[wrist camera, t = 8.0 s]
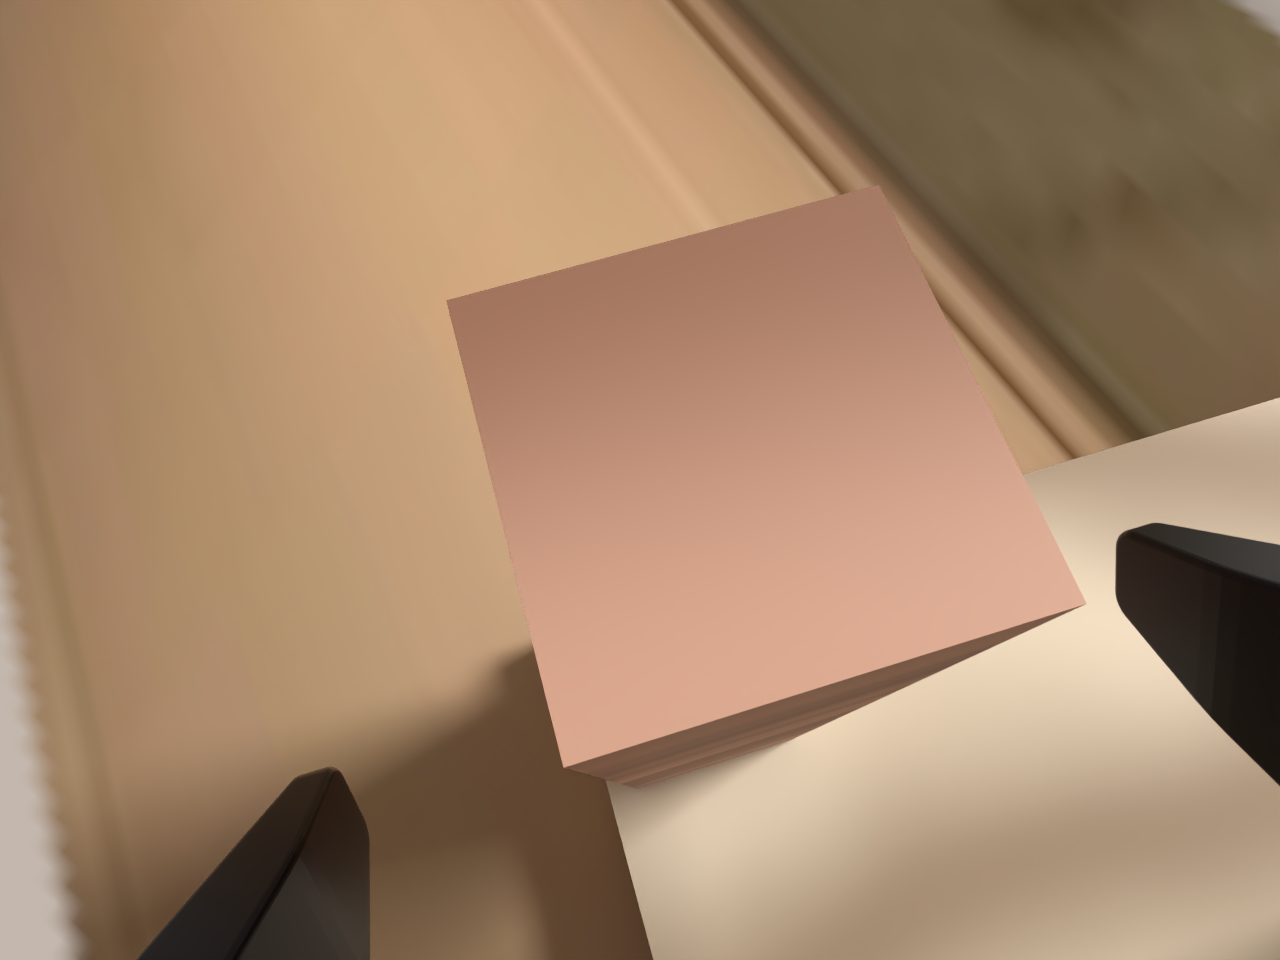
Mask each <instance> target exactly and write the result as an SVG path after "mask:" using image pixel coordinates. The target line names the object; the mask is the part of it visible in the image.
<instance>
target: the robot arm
mask: <svg viewBox="0 0 1280 960" xmlns="http://www.w3.org/2000/svg"><path fill="white" fill-rule="evenodd" d="M1115 595H1116V599H1117V602H1118V605H1119V607H1120V609H1121V611H1122V612H1123V614H1124V615H1125V617H1126V618H1127V619H1128V620H1129V621H1130V623H1131V624H1132V625H1133V626H1134V627H1135V629H1136V630H1137V631H1138V632H1139V633H1140V634H1141V636H1142V637H1143V638H1144V639H1145V640H1146V642H1147V643H1148V644H1149V645H1150V646H1151V648H1152V649H1153V650H1154V651H1155V652H1156V654H1157V655H1158V656H1159V657H1160V658H1161V660H1162V661H1163V662H1164V663H1165V664H1166V666H1167V667H1168V668H1169V669H1170V670H1171V672H1172V673H1173V674H1174V675H1175V676H1176V678H1177V679H1178V680H1179V681H1180V682H1181V684H1182V685H1183V686H1184V687H1185V688H1186V690H1187V691H1188V692H1189V693H1190V694H1191V696H1192V697H1193V698H1194V699H1195V700H1196V702H1197V703H1198V704H1199V705H1200V706H1201V707H1202V708H1203V709H1204V711H1205V712H1206V713H1207V714H1208V715H1209V716H1210V717H1211V718H1212V719H1213V720H1214V721H1215V722H1216V724H1217V725H1218V726H1219V727H1220V728H1221V729H1222V730H1223V731H1224V732H1225V733H1226V734H1227V735H1228V736H1229V737H1230V738H1231V739H1232V740H1233V741H1234V742H1235V743H1236V744H1237V745H1238V746H1239V747H1240V748H1241V749H1242V750H1243V751H1244V752H1245V753H1246V754H1247V755H1248V756H1249V757H1250V758H1251V759H1252V760H1253V761H1254V762H1255V763H1257V764H1258V765H1259V766H1260V767H1261V768H1262V769H1263V770H1264V771H1265V772H1266V773H1267V774H1268V775H1269V776H1270V777H1271V778H1272V779H1273V780H1274V781H1275V782H1276V783H1277V784H1278V785H1279V786H1280V545H1278V544H1273V543H1267V542H1262V541H1256V540H1251V539H1246V538H1240V537H1235V536H1229V535H1224V534H1218V533H1213V532H1207V531H1202V530H1196V529H1191V528H1186V527H1180V526H1175V525H1169V524H1164V523H1150V524H1146V525H1143V526H1140V527H1136V528H1133V529H1130V530H1126V531H1124V532H1123V533H1121V534H1120V535H1119V537H1118V539H1117V541H1116V563H1115ZM137 960H370V862H369V834H368V829H367V825H366V822H365V820H364V817H363V815H362V813H361V811H360V809H359V807H358V805H357V803H356V801H355V799H354V797H353V795H352V793H351V791H350V789H349V787H348V785H347V783H346V781H345V779H344V777H343V775H342V774H341V772H340V771H339V770H338V769H337V768H334V767H326V768H323V769H320V770H316V771H313V772H309V773H306V774H303V775H300V776H298V777H296V778H295V779H294V780H293V781H292V782H291V783H290V784H289V785H288V786H287V787H286V789H285V790H284V791H283V792H282V793H281V794H280V795H279V797H278V798H277V799H276V800H275V801H274V802H273V803H272V805H271V806H270V807H269V808H268V809H267V810H266V812H265V813H264V814H263V815H262V816H261V817H260V818H259V820H258V821H257V822H256V823H255V824H254V825H253V826H252V828H251V829H250V830H249V831H248V832H247V833H246V834H245V836H244V837H243V838H242V839H241V840H240V841H239V842H238V844H237V845H236V846H235V847H234V848H233V849H232V851H231V852H230V853H229V854H228V855H227V856H226V857H225V859H224V860H223V861H222V862H221V863H220V864H219V865H218V867H217V868H216V869H215V870H214V871H213V872H212V873H211V875H210V876H209V877H208V878H207V879H206V880H205V881H204V883H203V884H202V885H201V886H200V887H199V888H198V890H197V891H196V892H195V893H194V894H193V895H192V896H191V898H190V899H189V900H188V901H187V902H186V903H185V904H184V906H183V907H182V908H181V909H180V910H179V911H178V912H177V914H176V915H175V916H174V917H173V918H172V919H171V920H170V922H169V923H168V924H167V925H166V926H165V927H164V929H163V930H162V931H161V932H160V933H159V934H158V935H157V937H156V938H155V939H154V940H153V941H152V942H151V943H150V945H149V946H148V947H147V948H146V949H145V950H144V951H143V953H142V954H141V955H140V956H139V957H138V958H137Z"/></svg>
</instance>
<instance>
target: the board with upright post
mask: <svg viewBox="0 0 1280 960" xmlns="http://www.w3.org/2000/svg"><path fill="white" fill-rule="evenodd" d="M447 305H448V309H449V313H450V317H451V321H452V325H453V329H454V333H455V337H456V341H457V344H458V348H459V352H460V356H461V360H462V364H463V368H464V372H465V376H466V380H467V384H468V388H469V392H470V396H471V400H472V404H473V408H474V412H475V416H476V420H477V424H478V428H479V432H480V436H481V440H482V444H483V448H484V452H485V456H486V460H487V464H488V468H489V472H490V476H491V480H492V484H493V488H494V492H495V496H496V500H497V504H498V508H499V512H500V516H501V520H502V524H503V528H504V532H505V536H506V540H507V544H508V548H509V552H510V556H511V560H512V564H513V568H514V572H515V576H516V580H517V584H518V588H519V592H520V596H521V600H522V604H523V608H524V612H525V616H526V620H527V624H528V628H529V632H530V636H531V640H532V644H533V648H534V652H535V656H536V660H537V664H538V668H539V672H540V676H541V680H542V684H543V688H544V692H545V696H546V700H547V704H548V708H549V712H550V716H551V720H552V724H553V728H554V732H555V736H556V740H557V744H558V748H559V752H560V756H561V760H562V764H563V768H566V769H570V770H573V771H577V772H580V773H584V774H587V775H591V776H594V777H598V778H601V779H605V780H606V784H607V788H608V792H609V795H610V799H611V803H612V807H613V810H614V814H615V818H616V822H617V825H618V829H619V833H620V837H621V840H622V844H623V848H624V852H625V855H626V859H627V863H628V867H629V870H630V874H631V878H632V882H633V886H634V889H635V893H636V897H637V901H638V904H639V908H640V912H641V916H642V919H643V923H644V927H645V931H646V934H647V938H648V942H649V946H650V949H651V953H652V957H653V960H1280V786H1279V785H1278V784H1277V783H1276V782H1275V781H1274V780H1273V779H1272V778H1271V777H1270V776H1269V775H1268V774H1267V773H1266V772H1265V771H1264V770H1263V769H1262V768H1261V767H1260V766H1259V765H1258V764H1257V763H1255V762H1254V761H1253V760H1252V759H1251V758H1250V757H1249V756H1248V755H1247V754H1246V753H1245V752H1244V751H1243V750H1242V749H1241V748H1240V747H1239V746H1238V745H1237V744H1236V743H1235V742H1234V741H1233V740H1232V739H1231V738H1230V737H1229V736H1228V735H1227V734H1226V733H1225V732H1224V731H1223V730H1222V729H1221V728H1220V727H1219V726H1218V725H1217V724H1216V722H1215V721H1214V720H1213V719H1212V718H1211V717H1210V716H1209V715H1208V714H1207V713H1206V712H1205V711H1204V709H1203V708H1202V707H1201V706H1200V705H1199V704H1198V703H1197V702H1196V700H1195V699H1194V698H1193V697H1192V696H1191V694H1190V693H1189V692H1188V691H1187V690H1186V688H1185V687H1184V686H1183V685H1182V684H1181V682H1180V681H1179V680H1178V679H1177V678H1176V676H1175V675H1174V674H1173V673H1172V672H1171V670H1170V669H1169V668H1168V667H1167V666H1166V664H1165V663H1164V662H1163V661H1162V660H1161V658H1160V657H1159V656H1158V655H1157V654H1156V652H1155V651H1154V650H1153V649H1152V648H1151V646H1150V645H1149V644H1148V643H1147V642H1146V640H1145V639H1144V638H1143V637H1142V636H1141V634H1140V633H1139V632H1138V631H1137V630H1136V629H1135V627H1134V626H1133V625H1132V624H1131V623H1130V621H1129V620H1128V619H1127V618H1126V617H1125V615H1124V614H1123V612H1122V611H1121V609H1120V607H1119V605H1118V602H1117V599H1116V595H1115V563H1116V541H1117V539H1118V537H1119V535H1120V534H1121V533H1123V532H1124V531H1126V530H1130V529H1133V528H1136V527H1140V526H1143V525H1146V524H1150V523H1164V524H1169V525H1175V526H1180V527H1186V528H1191V529H1196V530H1202V531H1207V532H1213V533H1218V534H1224V535H1229V536H1235V537H1240V538H1246V539H1251V540H1256V541H1262V542H1267V543H1273V544H1278V545H1280V398H1277V399H1274V400H1270V401H1267V402H1264V403H1260V404H1257V405H1254V406H1250V407H1247V408H1244V409H1240V410H1237V411H1234V412H1230V413H1227V414H1224V415H1220V416H1217V417H1214V418H1210V419H1207V420H1204V421H1200V422H1197V423H1194V424H1190V425H1187V426H1183V427H1180V428H1177V429H1173V430H1170V431H1167V432H1163V433H1160V434H1157V435H1153V436H1150V437H1147V438H1143V439H1140V440H1137V441H1133V442H1130V443H1127V444H1123V445H1120V446H1117V447H1113V448H1110V449H1107V450H1103V451H1100V452H1096V453H1093V454H1090V455H1086V456H1083V457H1080V458H1076V459H1073V460H1070V461H1066V462H1063V463H1060V464H1056V465H1053V466H1050V467H1046V468H1043V469H1040V470H1036V471H1033V472H1030V473H1026V474H1022V472H1021V470H1020V468H1019V466H1018V464H1017V462H1016V460H1015V458H1014V456H1013V454H1012V452H1011V450H1010V448H1009V446H1008V444H1007V442H1006V440H1005V438H1004V436H1003V434H1002V432H1001V430H1000V428H999V426H998V424H997V422H996V420H995V418H994V416H993V414H992V412H991V410H990V408H989V406H988V404H987V402H986V400H985V398H984V396H983V394H982V392H981V390H980V387H979V385H978V383H977V381H976V379H975V377H974V375H973V373H972V371H971V369H970V367H969V365H968V363H967V361H966V359H965V357H964V355H963V353H962V351H961V349H960V347H959V345H958V343H957V341H956V339H955V337H954V335H953V333H952V331H951V329H950V327H949V325H948V323H947V321H946V319H945V317H944V315H943V313H942V311H941V309H940V307H939V305H938V303H937V301H936V299H935V297H934V295H933V293H932V291H931V289H930V287H929V285H928V283H927V281H926V279H925V277H924V275H923V273H922V270H921V268H920V266H919V264H918V262H917V260H916V258H915V256H914V254H913V252H912V250H911V248H910V246H909V244H908V242H907V240H906V238H905V236H904V234H903V232H902V230H901V228H900V226H899V224H898V222H897V220H896V218H895V216H894V214H893V212H892V210H891V208H890V206H889V204H888V202H887V200H886V198H885V196H884V194H883V192H882V190H881V188H880V186H879V185H876V186H872V187H869V188H865V189H861V190H858V191H854V192H850V193H846V194H843V195H839V196H835V197H831V198H828V199H824V200H820V201H816V202H813V203H809V204H805V205H802V206H798V207H794V208H790V209H787V210H783V211H779V212H775V213H772V214H768V215H764V216H760V217H757V218H753V219H749V220H745V221H742V222H738V223H734V224H731V225H727V226H723V227H719V228H716V229H712V230H708V231H704V232H701V233H697V234H693V235H689V236H686V237H682V238H678V239H675V240H671V241H667V242H663V243H660V244H656V245H652V246H648V247H645V248H641V249H637V250H633V251H630V252H626V253H622V254H618V255H615V256H611V257H607V258H604V259H600V260H596V261H592V262H589V263H585V264H581V265H577V266H574V267H570V268H566V269H562V270H559V271H555V272H551V273H548V274H544V275H540V276H536V277H533V278H529V279H525V280H521V281H518V282H514V283H510V284H506V285H503V286H499V287H495V288H492V289H488V290H484V291H480V292H477V293H473V294H469V295H465V296H462V297H458V298H454V299H450V300H447Z"/></svg>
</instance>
